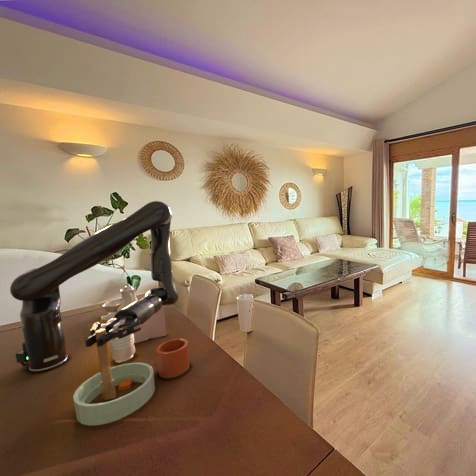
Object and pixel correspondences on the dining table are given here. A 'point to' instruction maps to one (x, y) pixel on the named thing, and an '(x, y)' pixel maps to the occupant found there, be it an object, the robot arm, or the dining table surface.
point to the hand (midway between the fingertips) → (92, 343)
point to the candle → (122, 348)
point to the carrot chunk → (125, 384)
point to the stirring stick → (105, 369)
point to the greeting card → (152, 327)
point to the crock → (172, 358)
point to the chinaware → (119, 302)
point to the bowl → (117, 407)
